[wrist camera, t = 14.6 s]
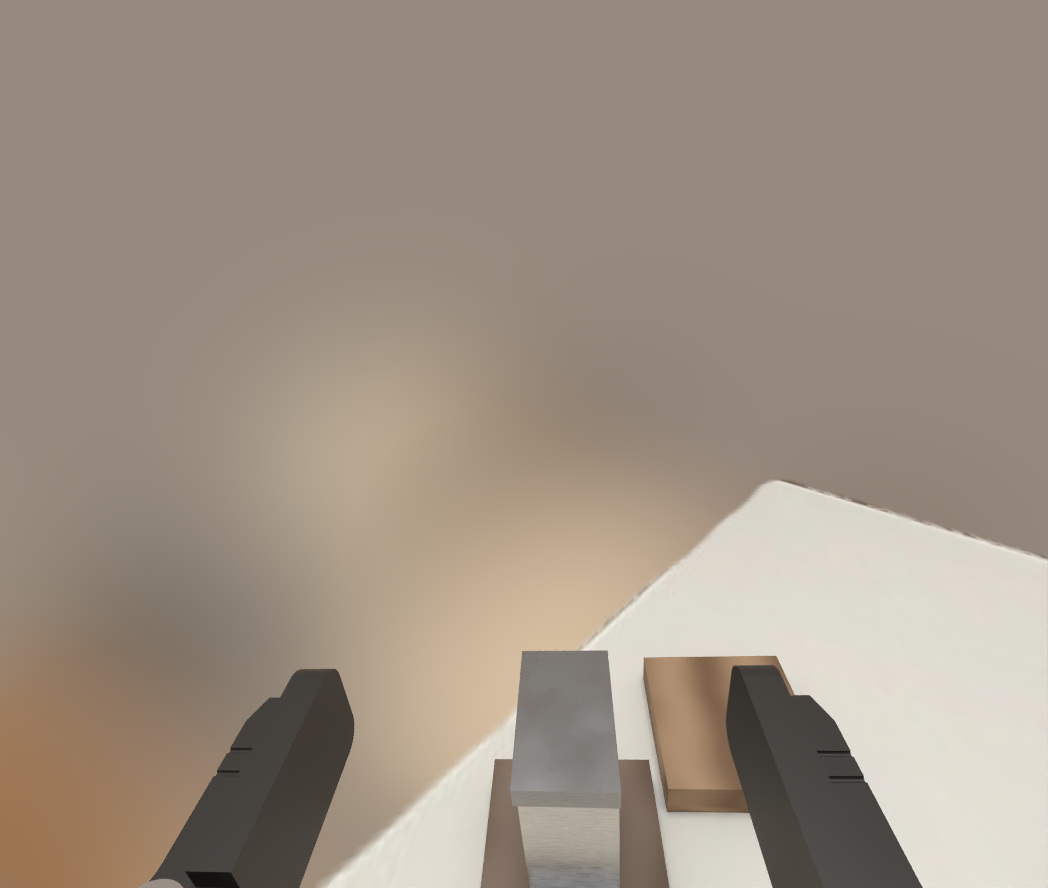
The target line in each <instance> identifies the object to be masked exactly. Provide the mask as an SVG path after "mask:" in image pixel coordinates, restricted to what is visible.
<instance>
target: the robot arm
mask: <svg viewBox="0 0 1048 888" xmlns="http://www.w3.org/2000/svg"><path fill="white" fill-rule="evenodd" d="M726 730H727V737H728V743H729V747H730V751H731V755H732V758H733V761H734V764H735V768H736V771H737V774H738V777H739V780H740V784H741V787H742V790H743V793H744V797H745V800H746V803H747V806H748V809H749V813H750V816H751V819H752V822H753V826H754V829H755V832H756V835H757V838H758V842H759V845H760V848H761V851H762V854H763V858H764V861H765V864H766V867H767V871H768V874H769V877H770V880H771V883H772V887H773V888H923V887H922V886H921V884H920V882H919V880H918V878H917V877H916V875H915V873H914V871H913V869H912V867H911V865H910V863H909V861H908V859H907V858H906V856H905V854H904V852H903V850H902V848H901V846H900V844H899V842H898V840H897V838H896V837H895V835H894V833H893V831H892V829H891V827H890V825H889V823H888V821H887V819H886V818H885V816H884V814H883V812H882V810H881V808H880V806H879V804H878V802H877V800H876V799H875V797H874V795H873V793H872V791H871V789H870V787H869V785H868V783H865V781H864V776H863V774H862V772H861V770H860V768H859V766H858V764H857V762H856V761H855V759H854V757H852V756H851V753H850V749H849V747H848V745H847V743H846V742H845V740H844V738H843V736H842V734H841V732H840V730H839V728H838V726H837V724H836V723H835V721H834V720H833V719H832V718H831V717H830V716H829V715H828V714H827V713H826V712H825V711H824V710H823V709H822V707H821V706H820V705H819V704H818V703H817V702H816V701H815V700H814V699H813V698H812V697H811V696H810V695H790V693H789V691H788V688H787V686H786V684H785V682H784V680H783V678H782V676H781V674H780V672H779V670H778V669H777V667H776V666H774V665H735V666H733V668H732V671H731V679H730V687H729V695H728V703H727V712H726ZM353 736H354V718H353V714H352V711H351V708H350V705H349V702H348V699H347V696H346V693H345V690H344V687H343V684H342V681H341V678H340V675H339V673H338V671H337V670H336V669H301V670H298V671H296V672H295V673H294V675H293V676H292V677H291V679H290V681H289V683H288V684H287V687H286V688H285V690H284V692H283V693H282V695H281V697H280V698H269V699H268V700H267V701H266V702H265V703H264V704H263V705H262V706H261V707H260V708H259V709H258V710H257V711H256V712H255V713H254V714H253V715H252V716H251V717H250V718H249V719H248V720H247V721H246V722H245V724H244V726H243V727H242V729H241V731H240V733H239V734H238V736H237V738H236V739H235V741H234V743H233V744H232V746H231V750H230V753H227V754H226V756H225V758H224V760H223V761H222V763H221V765H220V767H219V768H218V770H217V775H216V776H214V777H213V778H212V780H211V782H210V783H209V785H208V787H207V789H206V790H205V792H204V794H203V795H202V797H201V799H200V800H199V802H198V804H197V805H196V807H195V809H194V811H193V812H192V814H191V816H190V817H189V819H188V821H187V822H186V824H185V826H184V828H183V829H182V831H181V833H180V834H179V836H178V838H177V839H176V841H175V843H174V844H173V846H172V848H171V849H170V851H169V853H168V855H167V856H166V858H165V860H164V862H163V863H162V865H161V866H160V868H159V869H158V871H157V872H156V874H155V875H154V876H153V877H152V879H151V880H150V881H149V882H147V883H145V884H142V885H141V886H139V887H137V888H299V887H300V884H301V881H302V879H303V876H304V873H305V870H306V868H307V865H308V862H309V860H310V857H311V854H312V852H313V849H314V847H315V844H316V841H317V838H318V836H319V833H320V830H321V827H322V825H323V822H324V820H325V817H326V814H327V812H328V809H329V806H330V803H331V801H332V798H333V795H334V793H335V790H336V787H337V784H338V782H339V779H340V777H341V774H342V771H343V768H344V766H345V762H346V760H347V757H348V755H349V752H350V749H351V746H352V742H353Z"/></svg>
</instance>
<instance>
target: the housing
mask: <svg viewBox="0 0 1048 888" xmlns="http://www.w3.org/2000/svg"><path fill="white" fill-rule="evenodd" d="M510 793H511V800H512V806H518V813H519V820H520V826H521V833H522V840H523V847H524V854H525V860H526V867H527V874H528V881H529V888H620V827H619V809H621V785H620V775H619V764H618V754H617V744H616V733H615V723H614V713H613V702H612V692H611V682H610V672H609V661H608V651H523V652H522V662H521V673H520V685H519V695H518V706H517V718H516V729H515V740H514V752H513V763H512V774H511V786H510Z"/></svg>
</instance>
